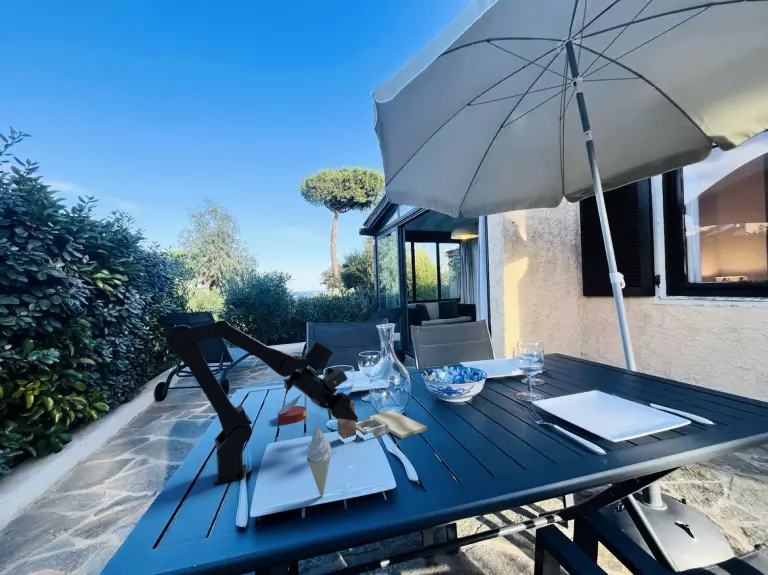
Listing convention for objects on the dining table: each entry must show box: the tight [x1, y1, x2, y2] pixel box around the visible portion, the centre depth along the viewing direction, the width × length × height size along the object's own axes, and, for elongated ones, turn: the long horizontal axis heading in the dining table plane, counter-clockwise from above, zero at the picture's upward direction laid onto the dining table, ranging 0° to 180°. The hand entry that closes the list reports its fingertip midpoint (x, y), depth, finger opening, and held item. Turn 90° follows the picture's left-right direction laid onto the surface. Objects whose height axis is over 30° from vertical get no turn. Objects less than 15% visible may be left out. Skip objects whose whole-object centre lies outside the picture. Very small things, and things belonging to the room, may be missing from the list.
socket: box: [356, 409, 428, 440], centre depth 102 cm, size 18×20×2 cm
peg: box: [336, 399, 357, 439], centre depth 96 cm, size 4×4×11 cm
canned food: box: [276, 393, 307, 425], centre depth 117 cm, size 11×10×10 cm
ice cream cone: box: [306, 423, 332, 497], centre depth 69 cm, size 5×5×15 cm
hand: (349, 415), depth 96 cm, fingers open, 9 cm apart
